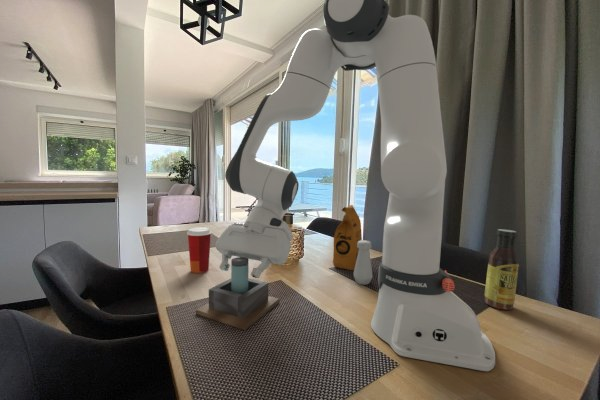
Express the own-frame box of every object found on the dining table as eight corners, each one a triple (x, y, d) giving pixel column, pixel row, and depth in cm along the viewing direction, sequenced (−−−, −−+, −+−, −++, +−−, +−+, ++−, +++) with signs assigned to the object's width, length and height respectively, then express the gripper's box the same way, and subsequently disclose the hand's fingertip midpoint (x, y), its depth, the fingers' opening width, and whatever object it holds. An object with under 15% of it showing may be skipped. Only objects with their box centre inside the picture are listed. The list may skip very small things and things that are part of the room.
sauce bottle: (499, 312, 65) (506, 233, 63) (477, 300, 71) (484, 228, 70) (521, 310, 66) (528, 232, 65) (498, 299, 73) (504, 227, 71)
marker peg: (251, 302, 65) (251, 258, 64) (241, 309, 61) (241, 263, 61) (238, 298, 67) (238, 256, 66) (227, 305, 63) (227, 260, 62)
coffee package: (328, 267, 95) (330, 206, 94) (339, 258, 106) (341, 203, 105) (355, 272, 91) (357, 208, 89) (364, 262, 102) (366, 205, 100)
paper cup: (211, 265, 94) (211, 226, 93) (211, 273, 87) (211, 231, 85) (187, 267, 91) (187, 227, 90) (185, 275, 84) (185, 232, 83)
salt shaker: (372, 286, 79) (374, 244, 78) (353, 284, 80) (354, 242, 79) (371, 279, 84) (373, 239, 83) (353, 277, 86) (354, 238, 84)
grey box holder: (279, 302, 68) (279, 281, 67) (245, 330, 55) (245, 304, 54) (235, 291, 74) (235, 271, 73) (195, 313, 61) (195, 290, 61)
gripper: (225, 215, 73) (198, 259, 65) (291, 222, 64) (269, 274, 56) (236, 228, 78) (212, 271, 70) (298, 237, 69) (279, 287, 61)
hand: (238, 273), depth 63 cm, fingers open, 8 cm apart
